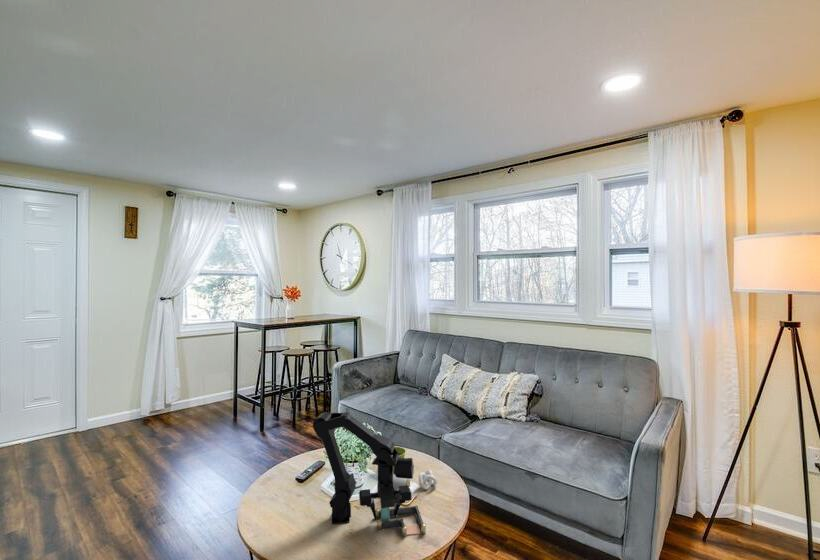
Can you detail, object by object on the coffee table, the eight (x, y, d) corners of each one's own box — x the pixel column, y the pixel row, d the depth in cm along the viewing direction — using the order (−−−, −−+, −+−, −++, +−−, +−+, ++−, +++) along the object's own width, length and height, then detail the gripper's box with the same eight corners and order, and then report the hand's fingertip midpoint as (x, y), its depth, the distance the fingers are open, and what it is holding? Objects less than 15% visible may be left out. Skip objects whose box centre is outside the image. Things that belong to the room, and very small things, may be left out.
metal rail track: (379, 540, 132) (379, 531, 132) (375, 516, 145) (375, 508, 145) (426, 534, 135) (426, 526, 135) (417, 511, 149) (417, 503, 149)
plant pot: (409, 468, 182) (409, 449, 182) (398, 476, 174) (398, 457, 174) (393, 462, 187) (393, 445, 187) (381, 471, 179) (381, 452, 179)
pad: (406, 535, 135) (406, 534, 135) (404, 526, 140) (404, 525, 140) (420, 533, 136) (420, 532, 136) (417, 524, 141) (417, 523, 141)
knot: (416, 481, 170) (416, 468, 170) (433, 480, 172) (433, 467, 171) (419, 491, 163) (419, 477, 162) (438, 489, 164) (438, 475, 164)
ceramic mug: (406, 501, 155) (406, 482, 155) (386, 498, 157) (387, 479, 157) (412, 487, 165) (412, 469, 166) (393, 485, 167) (394, 467, 167)
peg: (381, 525, 140) (381, 506, 140) (380, 520, 143) (380, 501, 143) (390, 524, 141) (390, 505, 141) (388, 519, 144) (388, 500, 144)
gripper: (361, 490, 132) (361, 535, 132) (414, 485, 136) (414, 529, 136) (359, 474, 143) (358, 516, 143) (408, 469, 147) (408, 510, 147)
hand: (385, 518), depth 142 cm, fingers open, 7 cm apart
